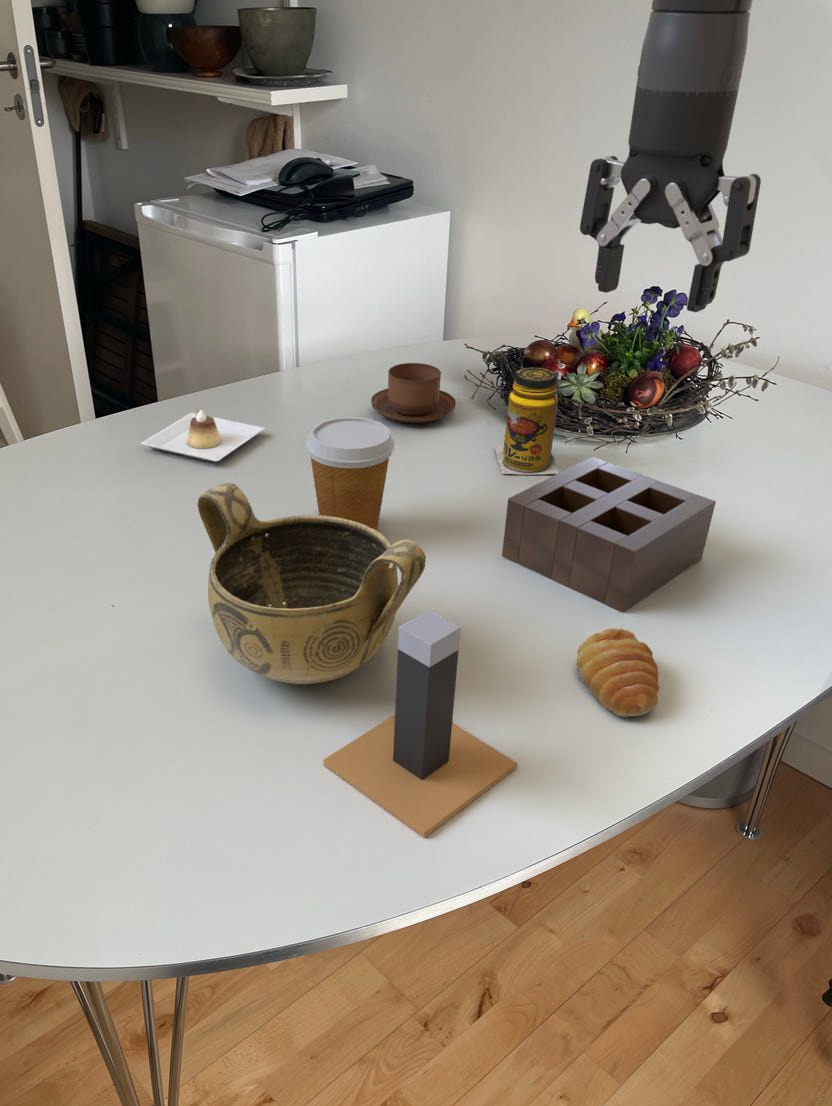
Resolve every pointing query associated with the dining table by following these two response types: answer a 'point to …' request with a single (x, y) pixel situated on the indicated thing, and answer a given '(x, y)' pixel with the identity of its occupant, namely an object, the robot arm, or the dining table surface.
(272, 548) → the ceramic bowl
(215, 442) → the dessert
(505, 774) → the cork mat
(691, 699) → the dining table surface
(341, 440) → the disposable coffee cup
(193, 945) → the dining table surface
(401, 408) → the cup and saucer
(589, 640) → the pastry
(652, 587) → the holder
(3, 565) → the dining table surface
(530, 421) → the condiment
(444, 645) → the grey-capped tall post
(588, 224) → the robot arm
